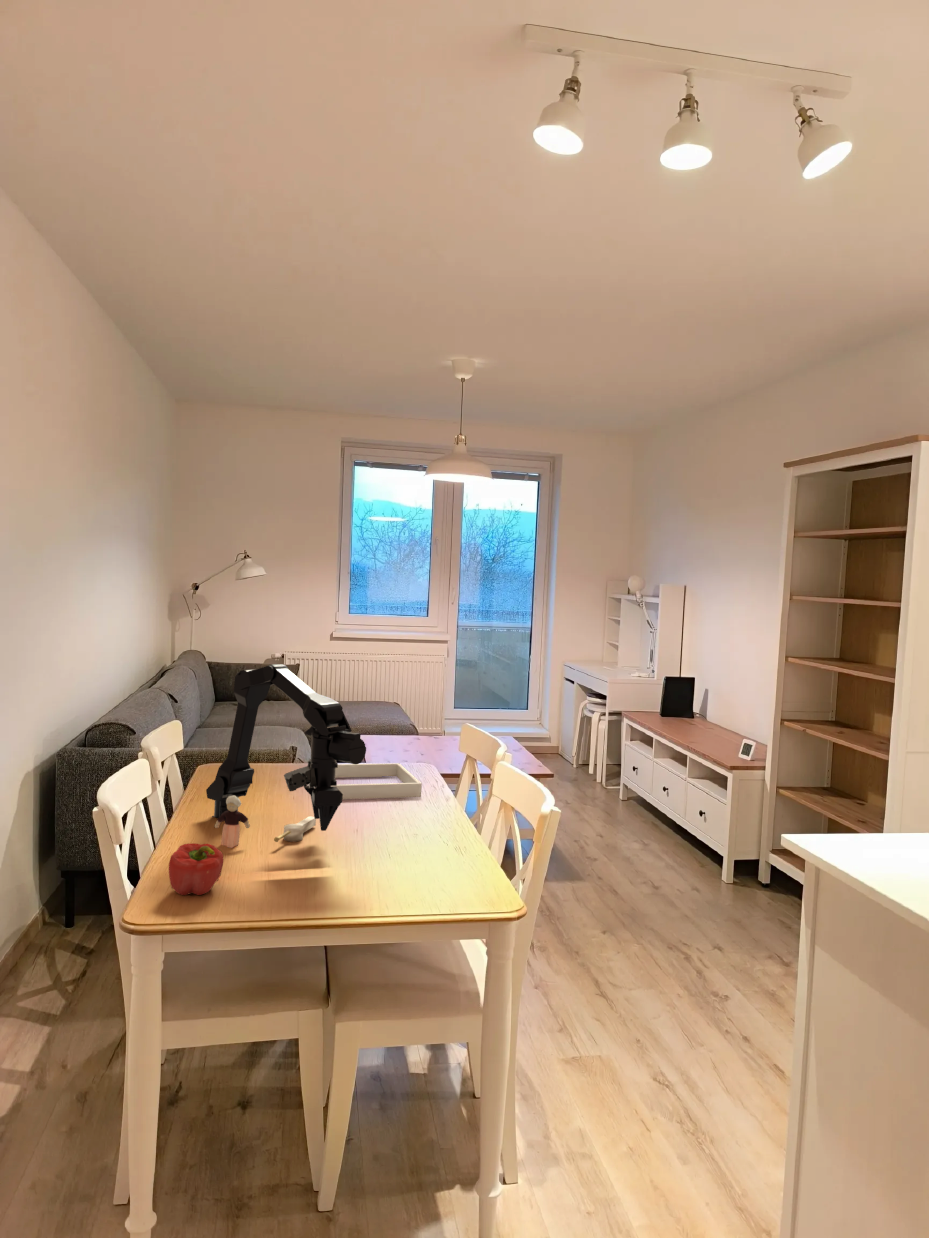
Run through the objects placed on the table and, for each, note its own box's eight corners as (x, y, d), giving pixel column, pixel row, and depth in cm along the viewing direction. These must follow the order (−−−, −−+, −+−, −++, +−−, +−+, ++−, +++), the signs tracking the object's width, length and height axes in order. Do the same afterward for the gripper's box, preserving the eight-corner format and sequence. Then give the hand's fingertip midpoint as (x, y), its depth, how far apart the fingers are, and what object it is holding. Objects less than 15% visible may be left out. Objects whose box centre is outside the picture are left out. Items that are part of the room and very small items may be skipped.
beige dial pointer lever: (283, 851, 183) (284, 838, 183) (266, 848, 184) (266, 836, 184) (320, 827, 202) (321, 816, 201) (303, 825, 203) (304, 814, 202)
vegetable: (234, 894, 161) (237, 843, 161) (186, 907, 153) (188, 854, 153) (204, 878, 168) (207, 830, 168) (157, 890, 161) (159, 839, 160)
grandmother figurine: (213, 854, 183) (215, 798, 182) (213, 848, 186) (216, 793, 186) (248, 853, 185) (251, 797, 184) (248, 847, 188) (251, 793, 188)
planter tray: (317, 777, 257) (318, 764, 257) (398, 775, 266) (399, 763, 266) (332, 799, 233) (333, 785, 233) (421, 796, 242) (421, 783, 241)
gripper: (282, 748, 194) (279, 814, 195) (293, 766, 176) (289, 838, 177) (329, 748, 198) (326, 812, 198) (344, 765, 180) (341, 836, 181)
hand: (320, 824), depth 188 cm, fingers open, 9 cm apart
